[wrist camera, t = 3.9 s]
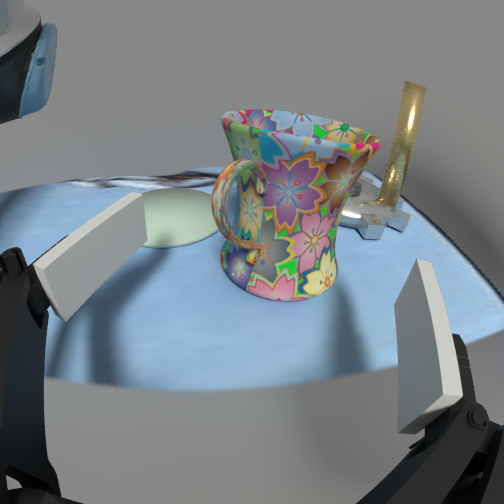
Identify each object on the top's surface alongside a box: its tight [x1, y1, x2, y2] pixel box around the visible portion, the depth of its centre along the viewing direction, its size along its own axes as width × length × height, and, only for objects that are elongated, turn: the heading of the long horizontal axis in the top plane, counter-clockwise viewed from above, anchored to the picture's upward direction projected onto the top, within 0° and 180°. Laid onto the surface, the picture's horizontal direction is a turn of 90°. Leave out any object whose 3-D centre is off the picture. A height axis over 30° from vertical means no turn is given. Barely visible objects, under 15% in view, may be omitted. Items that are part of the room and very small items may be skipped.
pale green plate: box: [142, 188, 219, 248], centre depth 26 cm, size 11×11×1 cm
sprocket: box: [339, 81, 426, 239], centre depth 28 cm, size 15×15×16 cm
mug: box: [211, 110, 381, 301], centre depth 17 cm, size 12×9×11 cm
